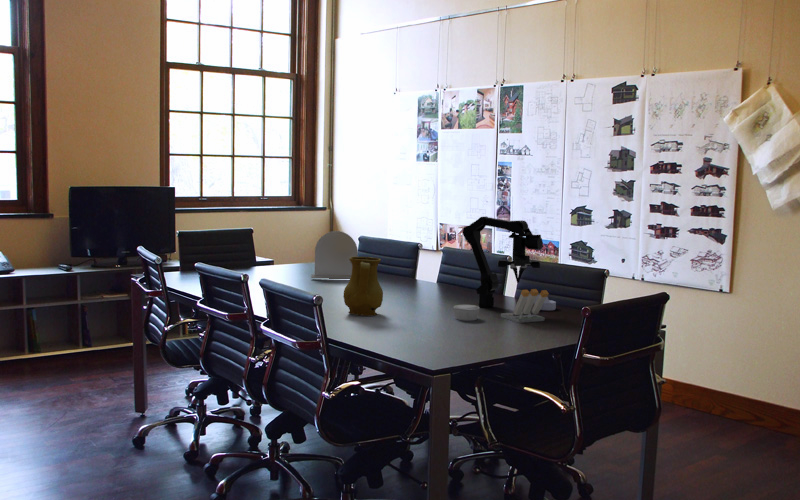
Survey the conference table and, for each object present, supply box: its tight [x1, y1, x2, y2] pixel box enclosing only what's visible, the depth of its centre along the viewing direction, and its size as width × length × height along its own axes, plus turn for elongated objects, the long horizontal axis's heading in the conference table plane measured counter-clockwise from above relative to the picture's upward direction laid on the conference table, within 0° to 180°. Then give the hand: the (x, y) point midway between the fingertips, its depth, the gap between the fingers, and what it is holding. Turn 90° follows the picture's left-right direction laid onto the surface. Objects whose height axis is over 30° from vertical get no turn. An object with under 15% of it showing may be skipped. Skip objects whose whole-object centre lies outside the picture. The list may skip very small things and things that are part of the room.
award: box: [310, 230, 359, 279], centre depth 428 cm, size 28×9×28 cm, turn 97°
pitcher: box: [343, 256, 384, 317], centre depth 326 cm, size 17×19×25 cm
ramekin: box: [453, 304, 481, 322], centre depth 322 cm, size 11×11×5 cm
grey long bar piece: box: [522, 288, 540, 315], centre depth 319 cm, size 2×3×13 cm
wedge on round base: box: [526, 294, 557, 311], centre depth 350 cm, size 9×7×13 cm
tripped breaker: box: [530, 289, 550, 315], centre depth 321 cm, size 2×3×13 cm
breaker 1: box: [513, 289, 530, 316], centre depth 317 cm, size 2×3×13 cm
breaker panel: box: [500, 311, 546, 324], centre depth 325 cm, size 14×13×2 cm
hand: (517, 282), depth 342 cm, fingers closed
